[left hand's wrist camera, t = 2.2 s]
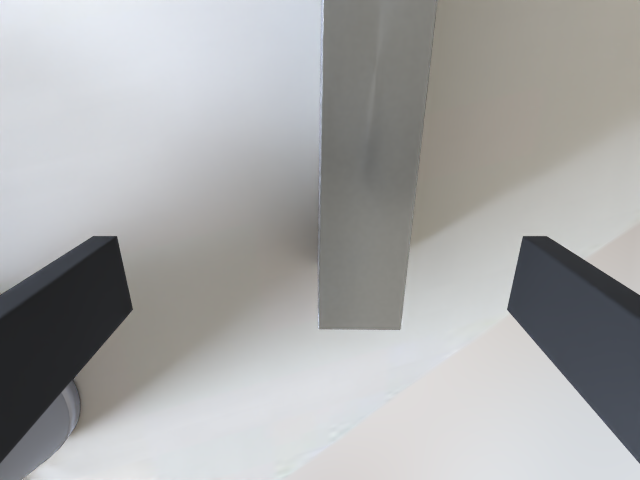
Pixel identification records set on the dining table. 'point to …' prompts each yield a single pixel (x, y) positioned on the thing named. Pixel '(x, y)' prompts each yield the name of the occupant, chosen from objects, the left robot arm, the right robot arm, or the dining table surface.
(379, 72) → the bar
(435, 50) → the dining table surface
